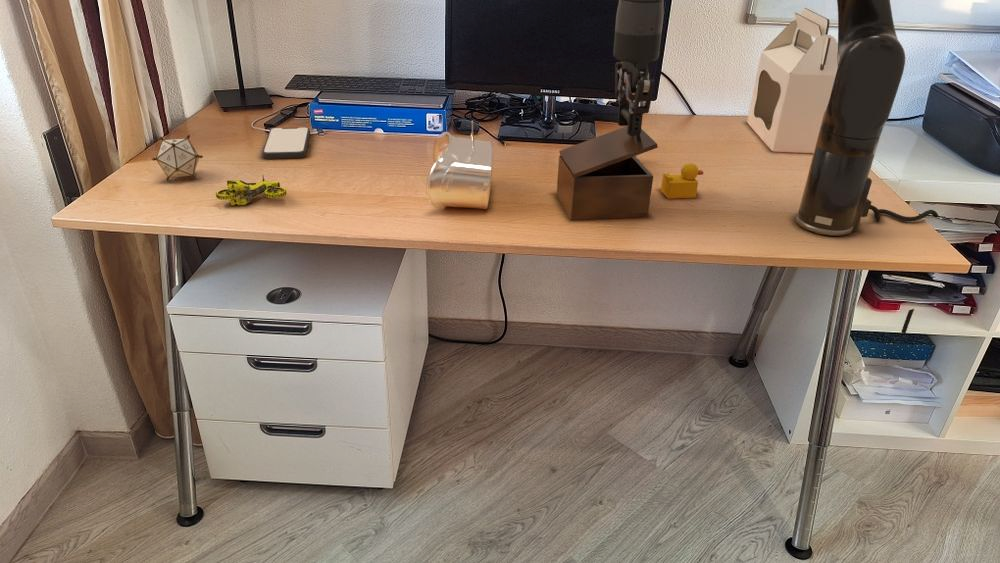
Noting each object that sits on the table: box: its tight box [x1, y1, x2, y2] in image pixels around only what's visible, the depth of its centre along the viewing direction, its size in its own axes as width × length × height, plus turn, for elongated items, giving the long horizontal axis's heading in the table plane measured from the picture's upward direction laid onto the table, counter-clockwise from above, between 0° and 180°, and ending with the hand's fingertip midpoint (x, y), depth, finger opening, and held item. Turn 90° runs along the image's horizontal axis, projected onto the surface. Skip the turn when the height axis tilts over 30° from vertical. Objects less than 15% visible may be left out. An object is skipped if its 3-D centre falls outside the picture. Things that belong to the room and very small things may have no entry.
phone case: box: [261, 126, 311, 160], centre depth 154 cm, size 9×2×16 cm
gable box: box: [746, 7, 838, 154], centre depth 163 cm, size 22×13×28 cm, turn 178°
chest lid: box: [558, 106, 659, 178], centre depth 125 cm, size 15×12×6 cm
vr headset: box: [426, 120, 494, 210], centre depth 130 cm, size 18×11×14 cm, turn 1°
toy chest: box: [556, 154, 654, 221], centre depth 129 cm, size 14×12×8 cm
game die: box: [151, 134, 204, 182], centre depth 135 cm, size 9×8×10 cm
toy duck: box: [660, 162, 704, 199], centre depth 136 cm, size 7×4×6 cm, turn 99°
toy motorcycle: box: [215, 174, 288, 206], centre depth 128 cm, size 12×4×7 cm
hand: (628, 129), depth 125 cm, fingers closed on chest lid, 5 cm apart
